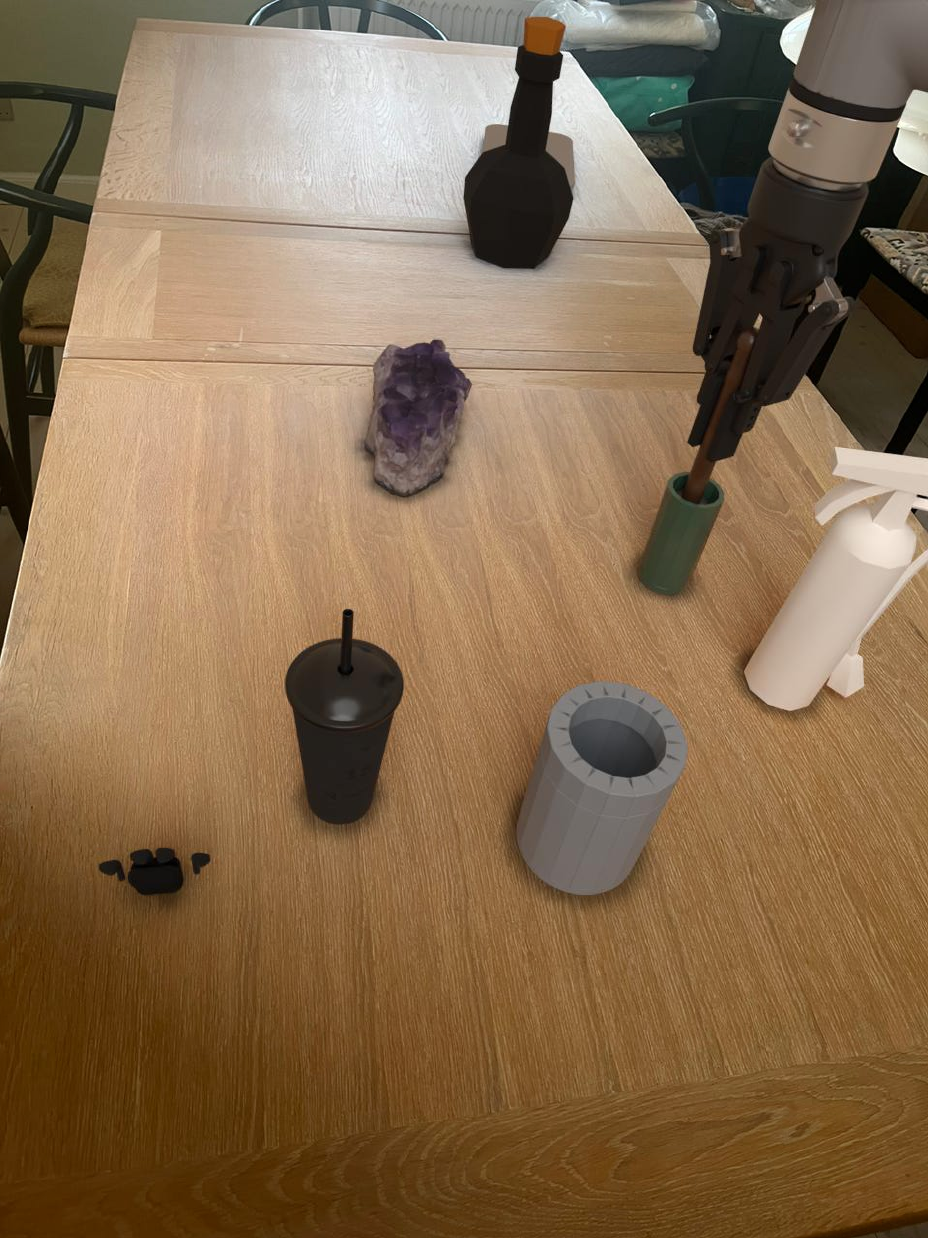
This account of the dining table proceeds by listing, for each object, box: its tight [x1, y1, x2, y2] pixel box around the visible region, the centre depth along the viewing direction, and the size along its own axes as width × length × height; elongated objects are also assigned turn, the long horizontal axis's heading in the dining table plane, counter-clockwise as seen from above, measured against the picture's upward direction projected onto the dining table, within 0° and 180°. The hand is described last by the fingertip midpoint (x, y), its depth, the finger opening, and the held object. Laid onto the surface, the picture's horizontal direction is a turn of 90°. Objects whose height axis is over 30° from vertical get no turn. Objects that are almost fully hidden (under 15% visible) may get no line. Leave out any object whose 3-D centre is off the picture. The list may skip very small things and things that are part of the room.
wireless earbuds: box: [98, 847, 211, 896], centre depth 60 cm, size 7×2×5 cm, turn 100°
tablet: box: [481, 123, 576, 190], centre depth 162 cm, size 16×26×2 cm, turn 176°
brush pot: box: [636, 471, 725, 596], centre depth 87 cm, size 5×5×11 cm
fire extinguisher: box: [743, 446, 928, 712], centre depth 74 cm, size 7×12×25 cm, turn 79°
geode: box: [364, 338, 473, 498], centre depth 98 cm, size 20×12×10 cm, turn 178°
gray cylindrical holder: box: [515, 680, 689, 896], centre depth 65 cm, size 9×9×13 cm
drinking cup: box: [284, 608, 405, 825], centre depth 62 cm, size 8×8×20 cm
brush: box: [676, 326, 759, 505], centre depth 81 cm, size 3×3×26 cm
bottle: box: [462, 16, 575, 269], centre depth 128 cm, size 16×16×30 cm
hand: (710, 448), depth 80 cm, fingers closed on brush, 2 cm apart
